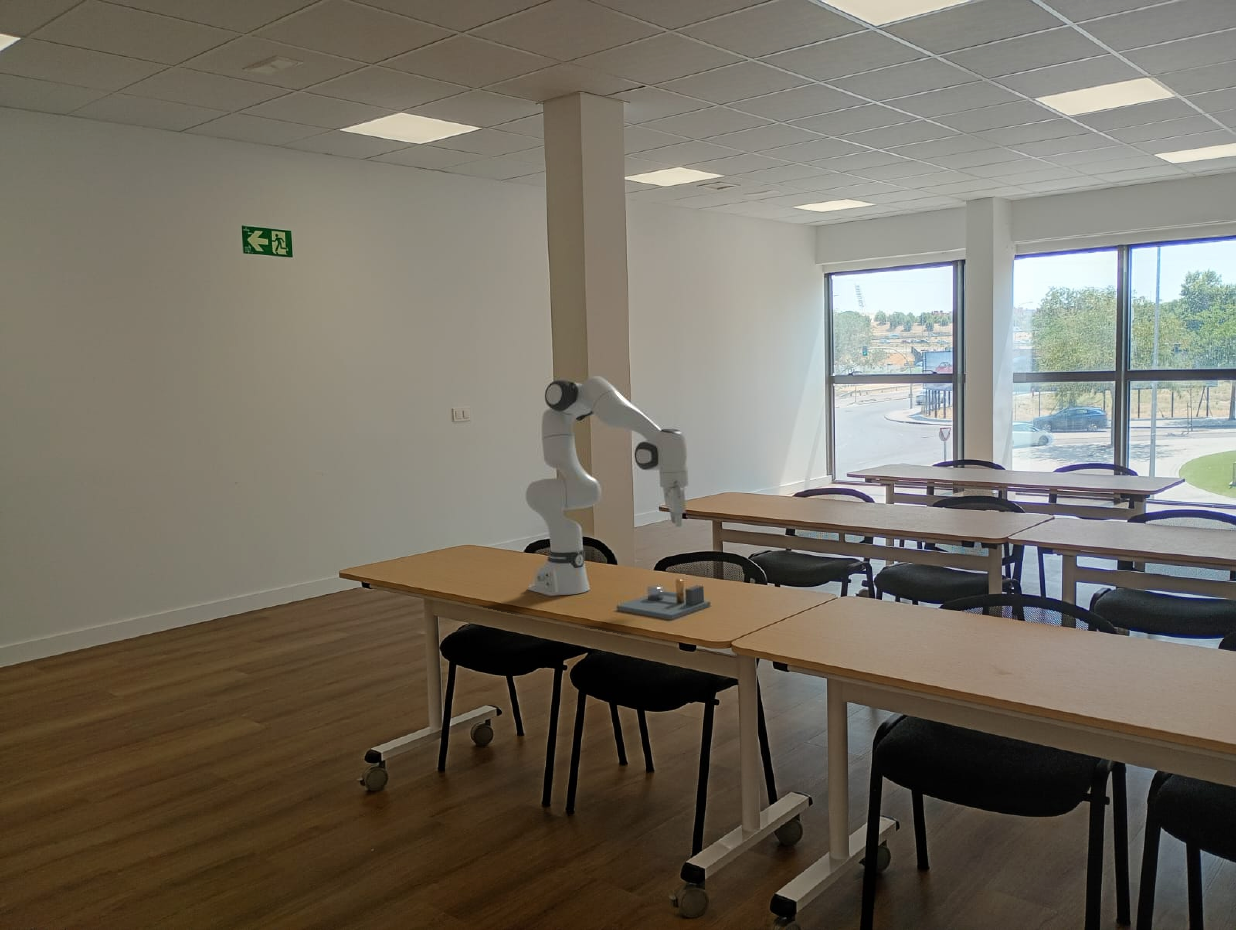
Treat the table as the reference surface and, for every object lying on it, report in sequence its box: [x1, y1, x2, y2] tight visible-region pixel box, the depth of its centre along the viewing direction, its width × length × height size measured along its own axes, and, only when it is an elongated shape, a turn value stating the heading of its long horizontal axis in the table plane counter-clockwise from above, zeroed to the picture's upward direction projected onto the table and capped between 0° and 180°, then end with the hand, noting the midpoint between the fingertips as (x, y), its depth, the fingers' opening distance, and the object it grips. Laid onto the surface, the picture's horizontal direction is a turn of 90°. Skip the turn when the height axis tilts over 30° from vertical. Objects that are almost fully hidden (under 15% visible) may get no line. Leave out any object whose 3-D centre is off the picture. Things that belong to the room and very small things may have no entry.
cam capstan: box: [646, 578, 685, 603], centre depth 299 cm, size 14×5×7 cm, turn 48°
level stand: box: [616, 584, 711, 621], centre depth 296 cm, size 22×19×6 cm
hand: (676, 524), depth 299 cm, fingers open, 8 cm apart
